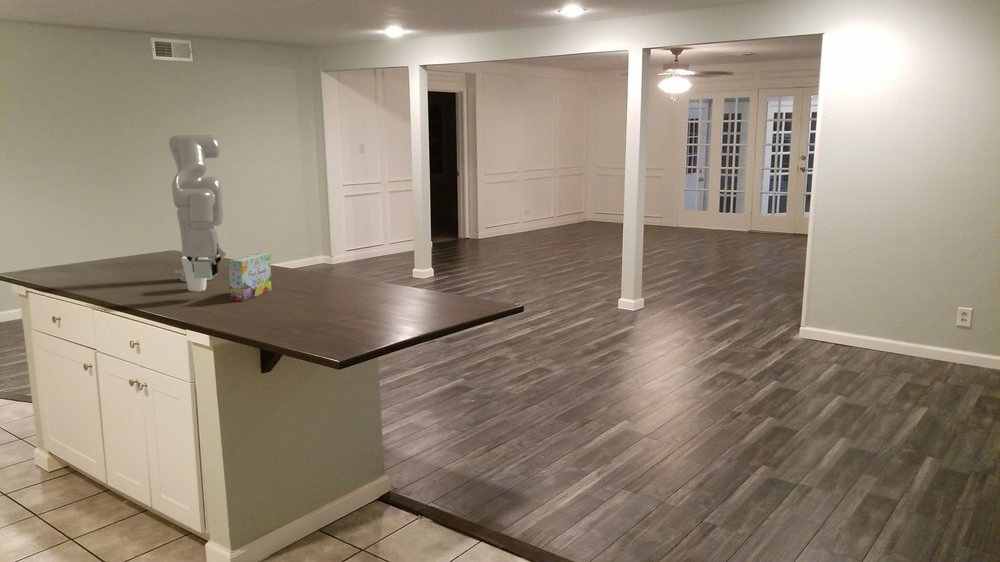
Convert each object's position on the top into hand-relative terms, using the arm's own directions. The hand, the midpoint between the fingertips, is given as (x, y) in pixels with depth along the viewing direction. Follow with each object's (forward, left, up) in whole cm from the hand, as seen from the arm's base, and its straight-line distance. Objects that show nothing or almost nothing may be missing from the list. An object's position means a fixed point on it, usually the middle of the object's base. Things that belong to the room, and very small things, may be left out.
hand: (205, 273), depth 273 cm
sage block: (0, 0, -1) cm, 1 cm away
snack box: (+14, +6, -10) cm, 18 cm away
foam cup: (-11, +16, -9) cm, 22 cm away
